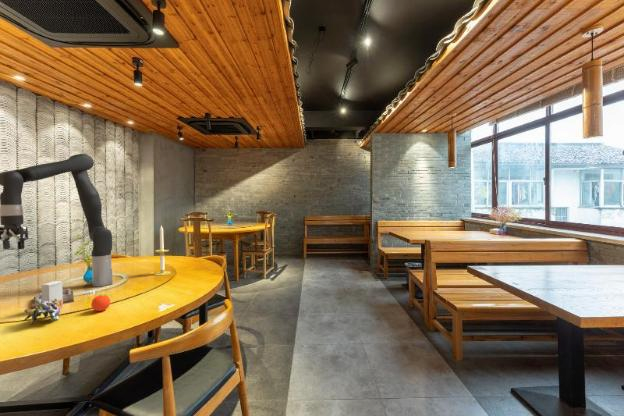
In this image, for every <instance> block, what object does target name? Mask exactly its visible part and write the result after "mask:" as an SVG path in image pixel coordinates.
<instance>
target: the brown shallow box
mask: <svg viewBox="0 0 624 416" xmlns="http://www.w3.org/2000/svg"><path fill="white" fill-rule="evenodd" d="M62 293H63V304H64V305H65V304H68V303H69V304H70V303H73V302H75V297H74V290H71V288H65V289H62ZM36 300H38V301H39V300H41V301H42V292H40V293H36V296H33V298H32V302H31V305H30V310H35V307H37V308H39V307H40V305H39V304H38V303H37V302H36Z"/></svg>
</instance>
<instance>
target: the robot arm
mask: <svg viewBox="0 0 624 416" xmlns="http://www.w3.org/2000/svg"><path fill="white" fill-rule="evenodd" d="M94 161H95V160H94V159H93V157H92V156H91V155H89V154H86V153H77V154H74V155H71V156H70V157H69V158H68V159H67V158H66V159H63V160H59V161H54V162H47V163H40V164H36V165H33V166H32V165H31V166H27V167H24V168H20V169H13V170H7V171H2V172H0V186H1V187H3V188H2V192H0V225H1V226H0V241H1V242H2V249H3V250H10V249H11V241H10V240H11V238H13V239H16V241H17V250H25V247H26V246H25V241H27V240H29V231H28V226H22V225H24V223H25V222H24V209H23V204H22V202H23V200H22V199H23V198H22V194H23V193H22V192H23V189H24V184H25V183H29V182H36V181H40V180H45V179H48V178H52V177H55V176H57V175H58V176H59V175H62V174H65V173H71V176H72V178H73V180H74V184H75V187H76V190H77V191H76V192H77V194H78V198H79V202H80V205H81V208H82V211H83V214H84V217H85V220H86V223H87V228H88V229H87V230H88V237H89V239H90V240H91V242H92V243H93V244H92V251H91V274H92V275H91V277H92V278H91V279H92V287H98V288H99V287H105V286H109V285H113V281H114V280H113V267H112V250H113V234H112V232H111V230H110V229H109V228H106V227H105V225H104V221H103V217H102V210H103V209H102V201H101V197H100V194H99V191H98V189H97V188H96V187H95V186H94V184H93V183H92V181H91V180H90V178H89V174H88V173H89V172H88V171H89V170H90V169H92V168H93V167H94V165H95V162H94Z"/></svg>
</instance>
